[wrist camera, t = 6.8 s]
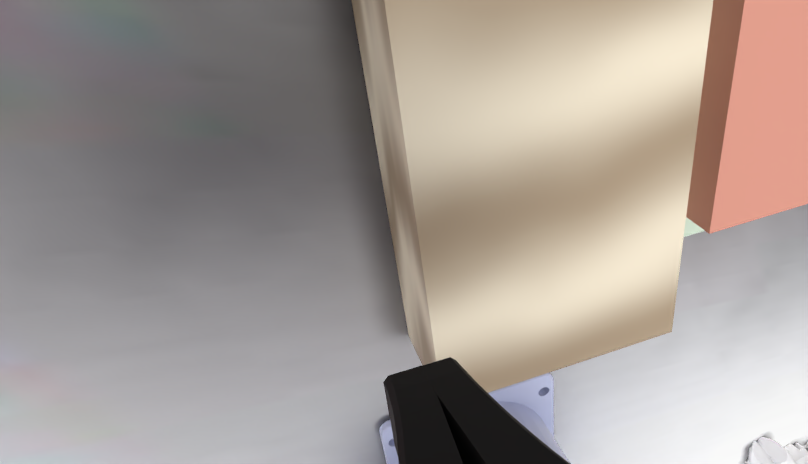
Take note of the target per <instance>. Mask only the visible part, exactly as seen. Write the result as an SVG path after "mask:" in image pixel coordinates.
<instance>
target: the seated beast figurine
mask: <svg viewBox="0 0 808 464" xmlns="http://www.w3.org/2000/svg"><path fill="white" fill-rule="evenodd" d="M745 462H746V463H747V464H808V441H807V443H806V444H804V445H801V444H799V443H798V442H795V444H794V445H792V444H791V443H790V444H788V445H786V446H785V447H782V446H781V445H780V444H779V443H778V442H776V441H774V440H772V439H769V438H765V437H760V438H759V440H758V441H757V442H756V441H754V442H753V443H752V446H751V447H750V448H749V456H748V460H746V461H745Z"/></svg>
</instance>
